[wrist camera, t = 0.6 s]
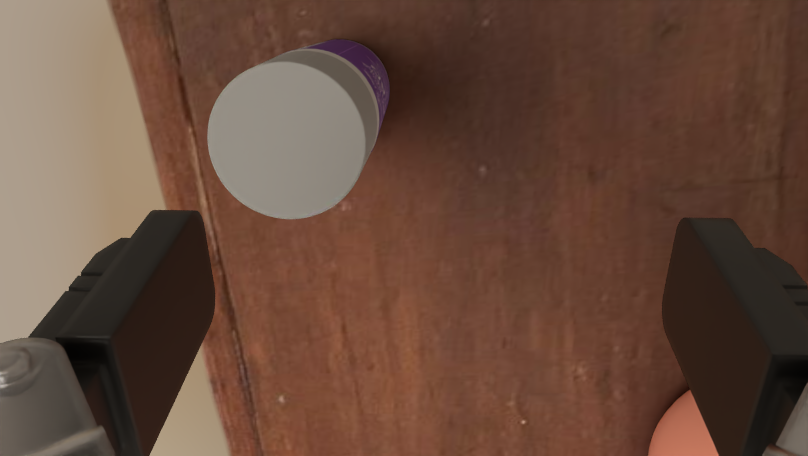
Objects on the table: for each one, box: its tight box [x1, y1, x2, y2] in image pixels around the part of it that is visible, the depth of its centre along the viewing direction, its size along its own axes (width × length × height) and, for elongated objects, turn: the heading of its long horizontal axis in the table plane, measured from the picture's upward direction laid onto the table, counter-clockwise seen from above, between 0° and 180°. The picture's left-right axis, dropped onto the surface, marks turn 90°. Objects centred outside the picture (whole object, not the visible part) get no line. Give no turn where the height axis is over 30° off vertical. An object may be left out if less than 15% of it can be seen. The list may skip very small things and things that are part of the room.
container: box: [208, 39, 390, 219], centre depth 27 cm, size 5×5×15 cm
